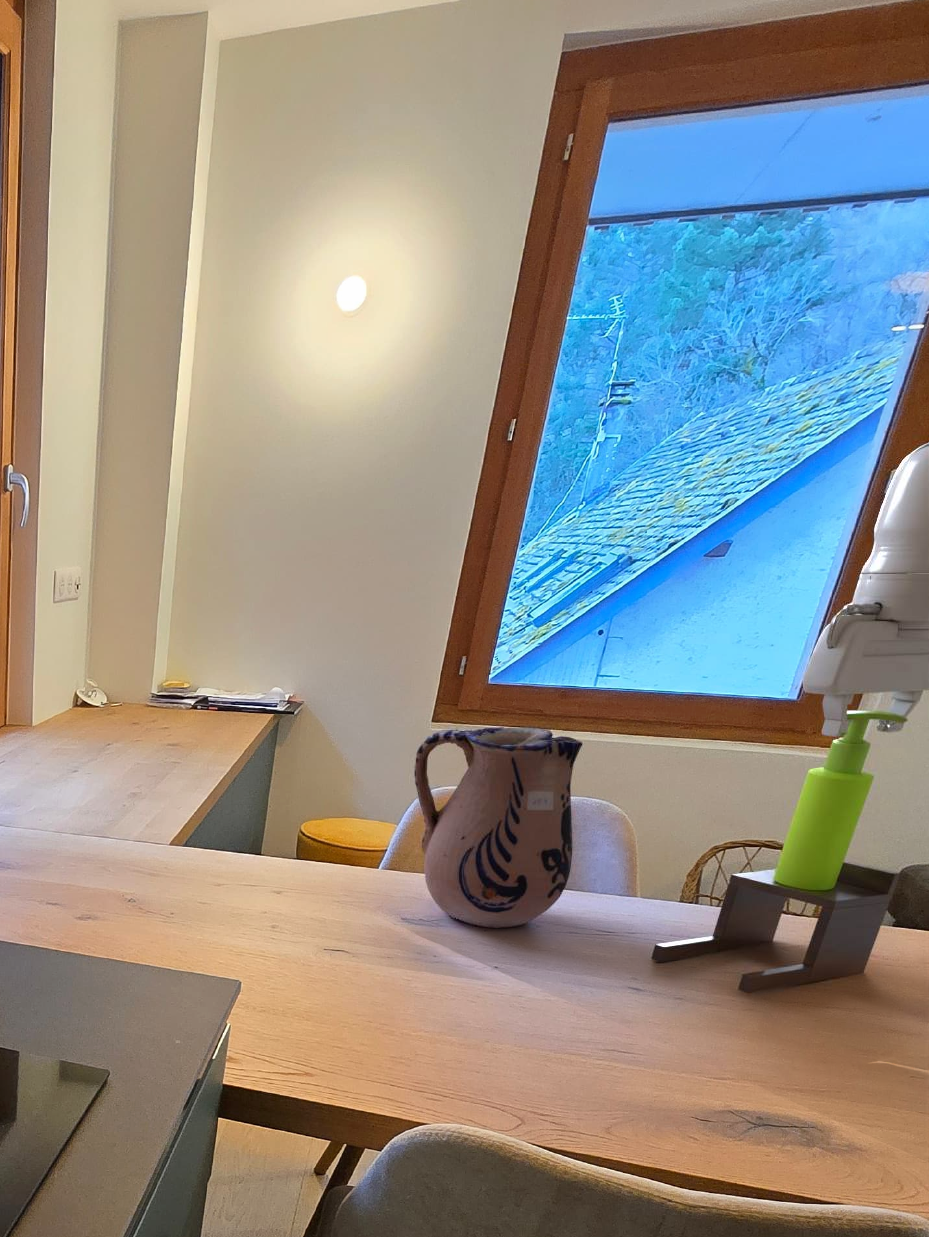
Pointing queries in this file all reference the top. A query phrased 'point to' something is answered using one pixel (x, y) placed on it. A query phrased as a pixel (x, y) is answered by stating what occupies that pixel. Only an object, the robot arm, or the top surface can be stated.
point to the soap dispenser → (829, 810)
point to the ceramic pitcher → (500, 825)
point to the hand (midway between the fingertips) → (861, 733)
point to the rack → (836, 937)
